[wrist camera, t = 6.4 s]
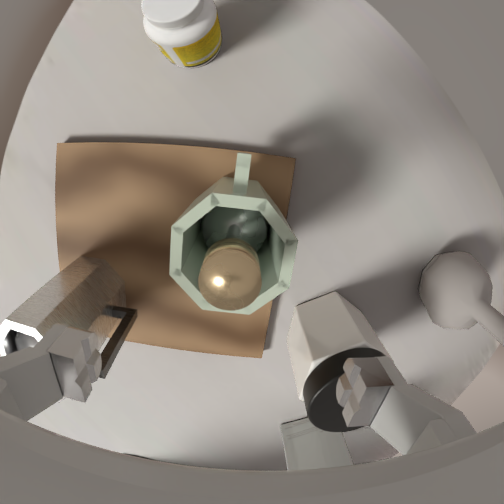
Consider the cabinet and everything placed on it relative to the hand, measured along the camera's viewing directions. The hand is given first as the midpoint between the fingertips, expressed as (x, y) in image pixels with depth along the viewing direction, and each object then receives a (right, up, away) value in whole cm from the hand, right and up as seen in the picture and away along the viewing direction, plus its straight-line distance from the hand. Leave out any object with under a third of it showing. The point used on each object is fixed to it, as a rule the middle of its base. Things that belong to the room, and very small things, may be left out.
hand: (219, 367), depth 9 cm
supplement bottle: (-4, +23, +14) cm, 27 cm away
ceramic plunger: (0, +5, +15) cm, 16 cm away
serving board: (-8, +3, +20) cm, 22 cm away
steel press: (-14, 0, +20) cm, 25 cm away
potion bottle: (+24, 0, +22) cm, 33 cm away
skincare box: (+10, -22, +30) cm, 38 cm away
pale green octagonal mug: (0, +8, +18) cm, 19 cm away
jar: (+9, -5, +24) cm, 26 cm away
